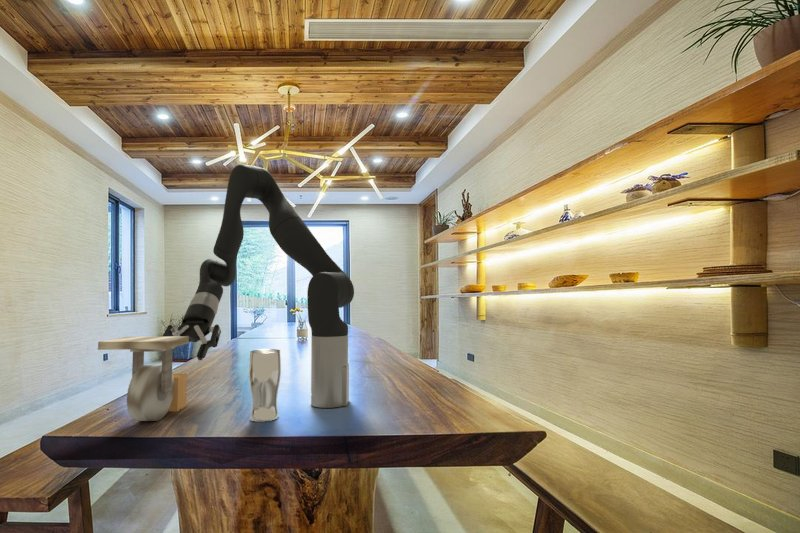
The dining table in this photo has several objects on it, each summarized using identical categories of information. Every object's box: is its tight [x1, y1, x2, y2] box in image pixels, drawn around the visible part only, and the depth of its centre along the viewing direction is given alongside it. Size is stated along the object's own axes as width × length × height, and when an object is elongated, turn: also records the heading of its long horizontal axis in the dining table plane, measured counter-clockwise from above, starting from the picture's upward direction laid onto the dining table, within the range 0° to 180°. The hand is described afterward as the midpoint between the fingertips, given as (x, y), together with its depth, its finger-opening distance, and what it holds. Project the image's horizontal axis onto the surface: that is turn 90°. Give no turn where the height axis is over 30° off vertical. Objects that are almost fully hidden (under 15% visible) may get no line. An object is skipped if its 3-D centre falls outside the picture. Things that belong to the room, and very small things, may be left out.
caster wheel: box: [97, 335, 190, 422], centre depth 97 cm, size 14×14×18 cm
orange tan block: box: [168, 373, 188, 412], centre depth 107 cm, size 5×4×8 cm
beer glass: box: [248, 348, 282, 423], centre depth 98 cm, size 7×7×15 cm
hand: (182, 358), depth 112 cm, fingers open, 8 cm apart
